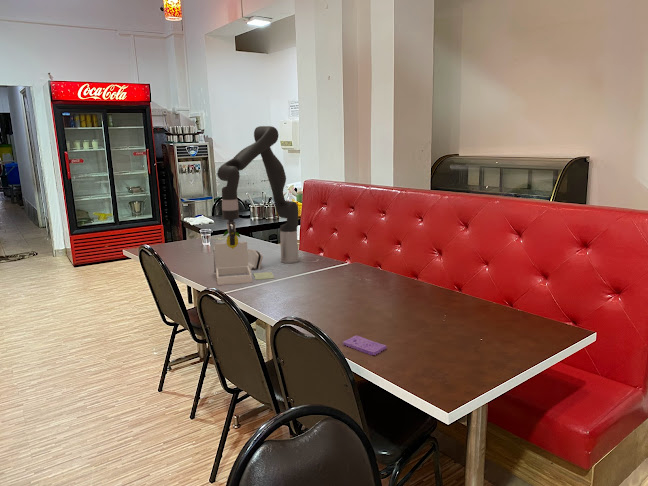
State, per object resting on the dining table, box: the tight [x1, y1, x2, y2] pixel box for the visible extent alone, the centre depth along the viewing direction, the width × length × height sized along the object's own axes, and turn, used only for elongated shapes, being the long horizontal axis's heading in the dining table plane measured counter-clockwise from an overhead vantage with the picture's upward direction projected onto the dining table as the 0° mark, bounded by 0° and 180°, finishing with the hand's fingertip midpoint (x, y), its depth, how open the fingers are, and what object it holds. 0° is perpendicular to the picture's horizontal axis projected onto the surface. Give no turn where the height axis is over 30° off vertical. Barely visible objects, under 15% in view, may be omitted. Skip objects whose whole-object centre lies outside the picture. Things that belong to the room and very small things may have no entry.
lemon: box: [222, 230, 241, 249], centre depth 233 cm, size 7×6×10 cm
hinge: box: [247, 248, 264, 271], centre depth 260 cm, size 17×5×10 cm, turn 30°
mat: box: [252, 271, 275, 281], centre depth 240 cm, size 9×11×1 cm
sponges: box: [342, 334, 387, 356], centre depth 156 cm, size 7×13×2 cm, turn 47°
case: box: [212, 241, 253, 286], centre depth 236 cm, size 17×20×16 cm
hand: (232, 243), depth 233 cm, fingers closed on lemon, 5 cm apart
